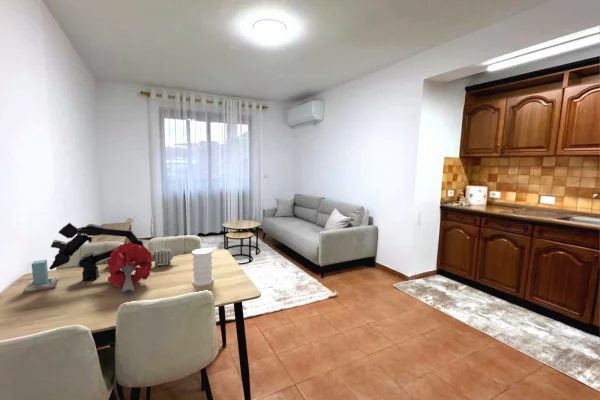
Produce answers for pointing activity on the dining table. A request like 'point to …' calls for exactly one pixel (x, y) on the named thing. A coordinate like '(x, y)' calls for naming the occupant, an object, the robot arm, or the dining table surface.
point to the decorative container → (202, 267)
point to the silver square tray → (41, 286)
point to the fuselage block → (40, 272)
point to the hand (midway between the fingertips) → (51, 266)
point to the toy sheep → (162, 256)
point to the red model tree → (129, 266)
